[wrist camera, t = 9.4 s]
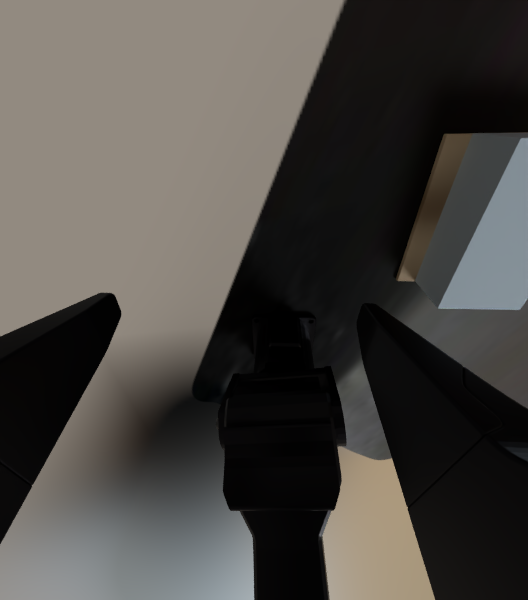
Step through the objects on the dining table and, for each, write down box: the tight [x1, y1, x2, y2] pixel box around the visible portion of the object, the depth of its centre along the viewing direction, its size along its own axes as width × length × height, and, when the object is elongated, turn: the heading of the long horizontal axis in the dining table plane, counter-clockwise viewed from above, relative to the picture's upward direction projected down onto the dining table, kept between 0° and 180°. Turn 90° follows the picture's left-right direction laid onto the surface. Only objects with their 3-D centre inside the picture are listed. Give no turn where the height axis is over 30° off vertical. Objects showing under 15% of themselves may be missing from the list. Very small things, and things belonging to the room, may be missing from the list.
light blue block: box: [415, 133, 528, 310], centre depth 18 cm, size 11×6×4 cm, turn 1°
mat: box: [396, 132, 528, 281], centre depth 20 cm, size 11×9×1 cm
